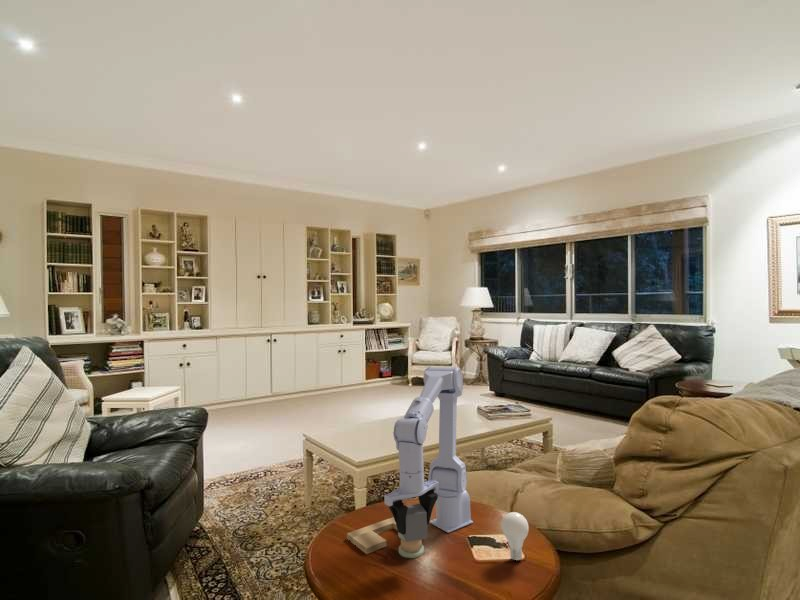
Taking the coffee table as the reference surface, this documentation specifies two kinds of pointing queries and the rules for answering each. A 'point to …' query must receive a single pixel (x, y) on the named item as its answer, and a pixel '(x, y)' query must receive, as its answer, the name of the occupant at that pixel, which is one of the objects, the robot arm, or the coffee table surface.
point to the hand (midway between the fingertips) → (413, 528)
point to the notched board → (371, 535)
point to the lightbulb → (515, 533)
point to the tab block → (416, 523)
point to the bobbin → (410, 548)
